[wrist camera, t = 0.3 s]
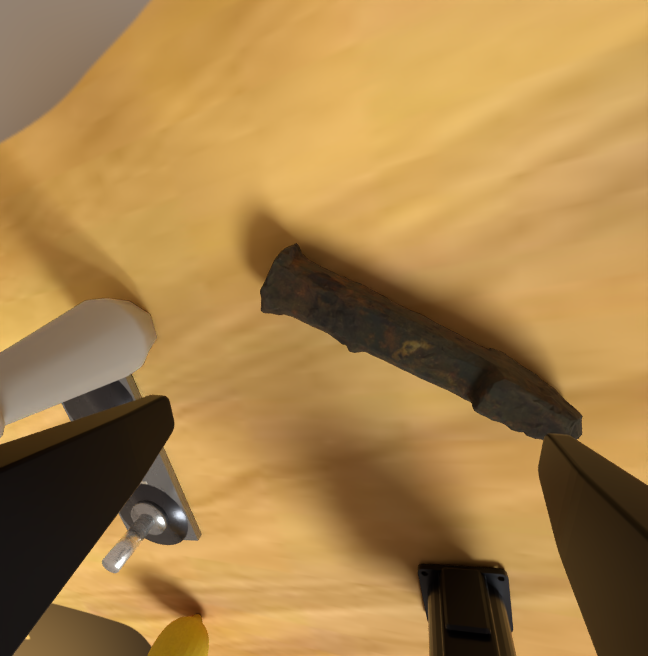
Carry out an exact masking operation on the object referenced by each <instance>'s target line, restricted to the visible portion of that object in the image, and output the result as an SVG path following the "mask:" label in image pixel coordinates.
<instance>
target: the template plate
mask: <svg viewBox="0 0 648 656" xmlns="http://www.w3.org/2000/svg"><path fill="white" fill-rule="evenodd" d="M140 398H141V395H140V393H139V391H138V389H137V386H136V384H135V382H134V379H133V377H132V375H131V374H130V375H129V376H127V377H124V378H122V379H119V380H117V381H115V382H112V383H110V384H107V385H105V386H102V387H100V388H97V389H95V390H92V391H90V392H87V393H85V394H82V395H80V396H77V397H75V398H72V399H70V400H67V401H65V402H62V405H63V407H64V409H65V411H66V413H67V415H68V417H69V419H70V421H74V420H77V419H80V418H83V417H86V416H89V415H92V414H95V413H98V412H101V411H104V410H107V409H110V408H113V407H116V406H119V405H122V404H125V403H128V402H131V401H134V400H137V399H140ZM141 500H148V501H151V502H154V503H156V504H157V505H159V506H160V507H161V508H162V509H163V510H164V511H165V512H166V514H167V516H168V519H169V524H168V526H167V527H166V529H165V530H164V531H163V532H162V533H161V534H159V535H152V534H147V536H146V537H145V539H147V540H149V541H152V542H155V543H158V544H162V545H174V544H177V543H179V542H181V541H182V540H197V541H198V540H199V538H200V537H201V532H200V530H199V528H198V526H197V523H196V521H195V519H194V516H193V514H192V512H191V510H190V507H189V505H188V503H187V500H186V498H185V496H184V494H183V491H182V489H181V487H180V484H179V482H178V480H177V478H176V475H175V473H174V471H173V468H172V466H171V464H170V462H169V459H168V457H167V455H166V452H165V450H164V448H162V450H161V451H160V453H159V455H158V456H157V458H156V459H155V461H154V463H153V464H152V466H151V468H150V469H149V471H148V472H147V474H146V476H145V477H144V479H143V480H142V482H141V483H140V485H139V486H138V487H137V489H136V490H135V491H134V493H133V494H132V496H131V497H130V498H129V500H128V501H127V502H126V504H125V505H124V506H123V508H122V509H121V510H120V512H119V515H120V517H121V519H122V521H123V523H124V525H125V526H126V528H127V530H128V529H129V528H130V527H131V526H132V525H133V524H134V522H133V520H132V518H131V509H132V508H133V507H134V506H135V505H136V503H137V502H139V501H141Z"/></svg>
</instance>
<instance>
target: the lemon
mask: <svg viewBox="0 0 648 656" xmlns="http://www.w3.org/2000/svg"><path fill="white" fill-rule="evenodd" d="M208 649H209V637H208V633H207V630H206V628H205V626H204V625H203V623H202V618H201V616H200V615H199V614H196V615H194V616H192V617H189V616H186V617H181V618H178V619H176V620H175V621H173V622H171V623H170V624H169V625H168V626H167V627H166V628H165V629H164V630H163V631H162V632H161V634H160V635H159V636H158V638H157V639H156V641H155V642H154V644H153V646H152V647H151V649H150V651H149V654H148V656H207V655H208Z"/></svg>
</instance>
